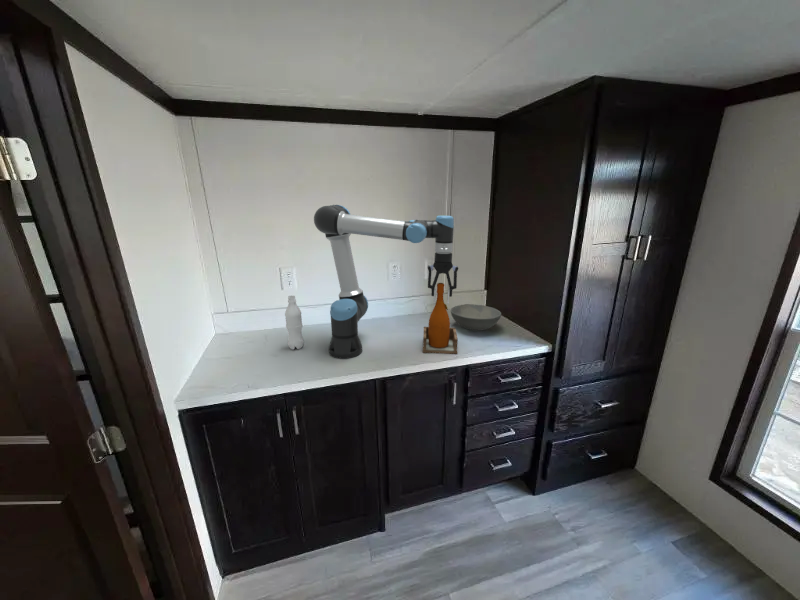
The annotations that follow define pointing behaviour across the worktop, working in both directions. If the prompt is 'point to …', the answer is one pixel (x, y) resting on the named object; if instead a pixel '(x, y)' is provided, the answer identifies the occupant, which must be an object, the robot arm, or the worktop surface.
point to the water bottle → (294, 324)
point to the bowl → (475, 316)
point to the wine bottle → (439, 321)
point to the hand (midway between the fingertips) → (441, 302)
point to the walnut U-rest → (449, 349)
